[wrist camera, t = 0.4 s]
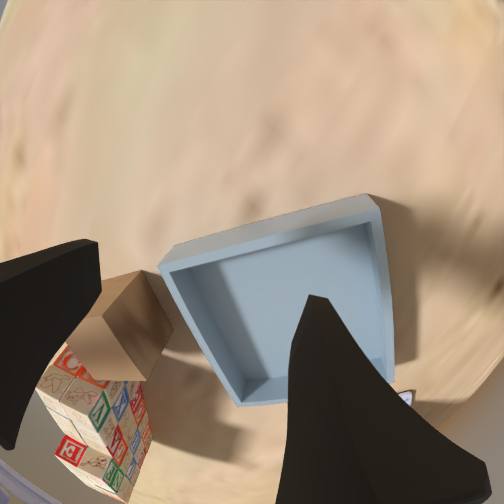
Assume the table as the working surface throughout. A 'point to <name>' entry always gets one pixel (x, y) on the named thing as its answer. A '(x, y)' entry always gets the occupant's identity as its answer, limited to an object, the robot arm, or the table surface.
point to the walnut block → (122, 331)
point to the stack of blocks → (97, 425)
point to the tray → (283, 292)
